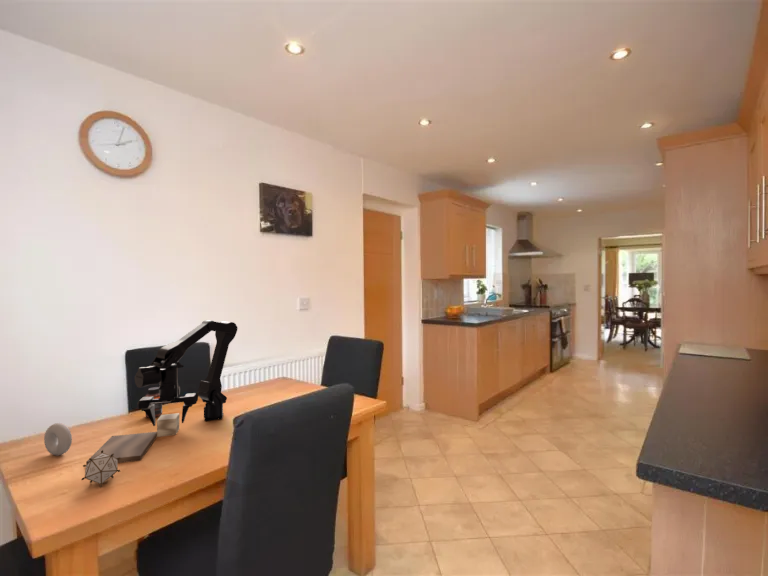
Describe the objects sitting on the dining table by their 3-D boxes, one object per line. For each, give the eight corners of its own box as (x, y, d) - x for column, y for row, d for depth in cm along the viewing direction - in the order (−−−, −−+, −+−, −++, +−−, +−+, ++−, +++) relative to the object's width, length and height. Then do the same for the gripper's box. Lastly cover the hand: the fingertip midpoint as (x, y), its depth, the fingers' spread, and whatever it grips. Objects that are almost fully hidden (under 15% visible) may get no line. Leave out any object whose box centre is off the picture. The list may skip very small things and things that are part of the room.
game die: (98, 494, 104) (99, 457, 109) (128, 482, 105) (128, 445, 110) (71, 493, 97) (73, 453, 101) (104, 480, 97) (105, 441, 102)
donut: (74, 454, 120) (74, 423, 120) (62, 459, 117) (62, 427, 117) (53, 450, 123) (53, 419, 123) (41, 454, 120) (41, 423, 120)
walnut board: (157, 435, 136) (157, 431, 136) (140, 460, 116) (140, 455, 116) (111, 440, 131) (111, 436, 131) (86, 466, 112) (86, 461, 112)
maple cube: (179, 429, 142) (179, 413, 142) (175, 435, 136) (175, 418, 136) (161, 430, 140) (161, 414, 140) (157, 437, 135) (157, 420, 135)
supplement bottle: (165, 413, 159) (165, 386, 159) (155, 418, 153) (155, 390, 153) (152, 413, 160) (152, 386, 159) (141, 417, 154) (141, 390, 154)
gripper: (200, 374, 149) (200, 414, 149) (146, 378, 143) (146, 419, 143) (195, 381, 138) (195, 424, 138) (136, 385, 133) (136, 430, 133)
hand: (168, 424), depth 138 cm, fingers open, 9 cm apart
